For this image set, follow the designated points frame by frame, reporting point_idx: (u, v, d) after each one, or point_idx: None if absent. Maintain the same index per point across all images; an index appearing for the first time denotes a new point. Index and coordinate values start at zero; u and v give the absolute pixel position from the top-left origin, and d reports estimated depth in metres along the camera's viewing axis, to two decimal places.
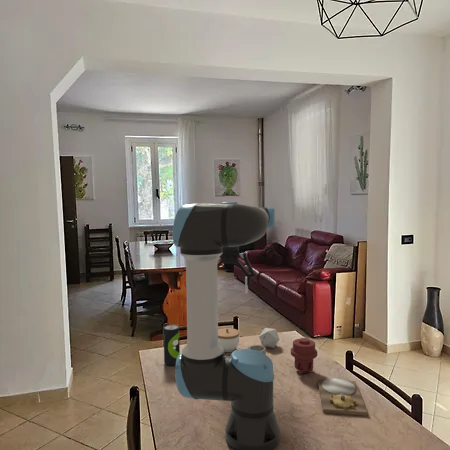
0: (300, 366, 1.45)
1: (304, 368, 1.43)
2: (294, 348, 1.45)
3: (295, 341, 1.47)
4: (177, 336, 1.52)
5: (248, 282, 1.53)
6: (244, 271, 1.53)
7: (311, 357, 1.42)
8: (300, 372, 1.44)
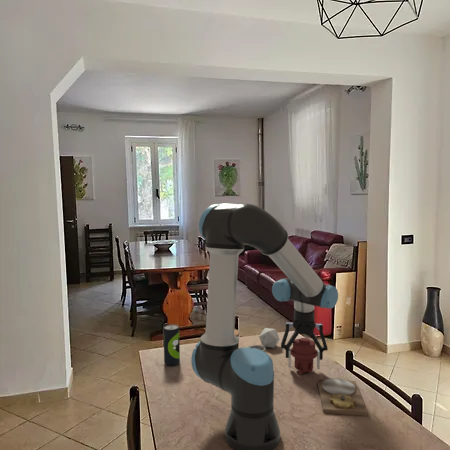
0: (300, 366, 1.45)
1: (304, 368, 1.43)
2: (294, 348, 1.45)
3: (295, 341, 1.47)
4: (177, 336, 1.52)
5: (320, 356, 1.45)
6: (317, 344, 1.44)
7: (311, 357, 1.42)
8: (300, 372, 1.44)
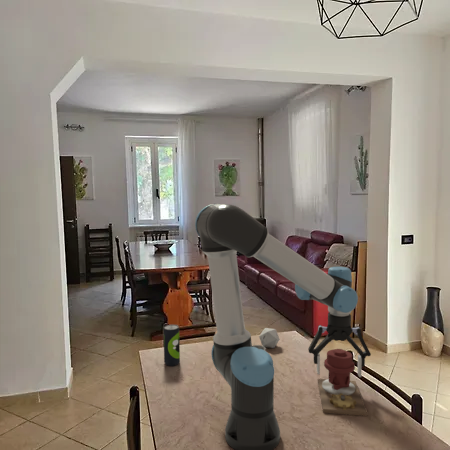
0: (336, 380, 1.29)
1: (340, 383, 1.28)
2: (329, 360, 1.30)
3: (329, 352, 1.32)
4: (177, 336, 1.52)
5: (362, 363, 1.29)
6: (358, 350, 1.29)
7: (349, 371, 1.27)
8: (336, 387, 1.29)
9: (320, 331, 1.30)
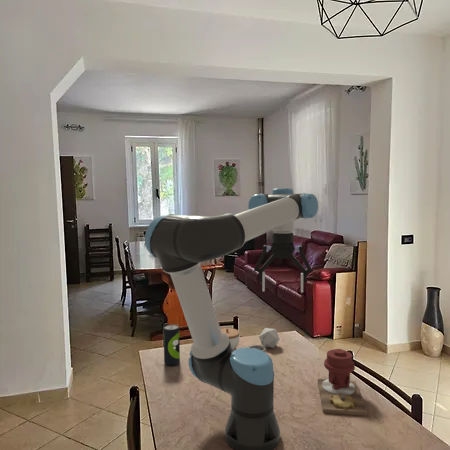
0: (336, 380, 1.29)
1: (340, 383, 1.28)
2: (329, 360, 1.30)
3: (329, 352, 1.32)
4: (177, 336, 1.52)
5: (304, 279, 1.36)
6: (300, 267, 1.35)
7: (349, 371, 1.27)
8: (336, 387, 1.29)
9: (264, 249, 1.37)
